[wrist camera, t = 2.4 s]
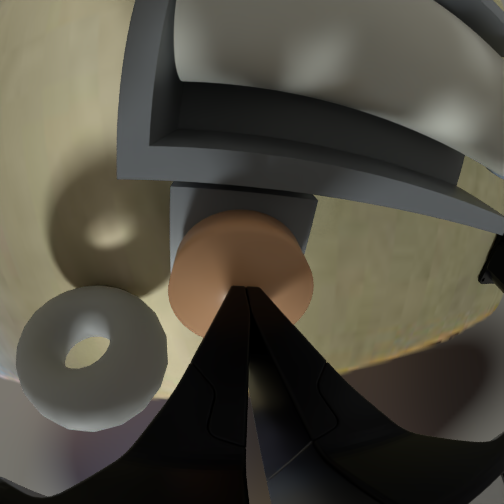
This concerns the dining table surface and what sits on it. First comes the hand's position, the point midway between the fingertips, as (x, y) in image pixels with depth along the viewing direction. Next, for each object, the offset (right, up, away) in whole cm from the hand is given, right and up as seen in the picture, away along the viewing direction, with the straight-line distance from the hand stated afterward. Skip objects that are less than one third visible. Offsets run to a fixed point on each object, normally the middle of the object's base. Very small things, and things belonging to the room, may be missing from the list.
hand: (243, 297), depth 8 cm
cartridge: (+6, +10, +1) cm, 12 cm away
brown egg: (-1, +3, +5) cm, 5 cm away
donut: (-10, -2, +9) cm, 13 cm away
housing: (+5, +9, +4) cm, 11 cm away
